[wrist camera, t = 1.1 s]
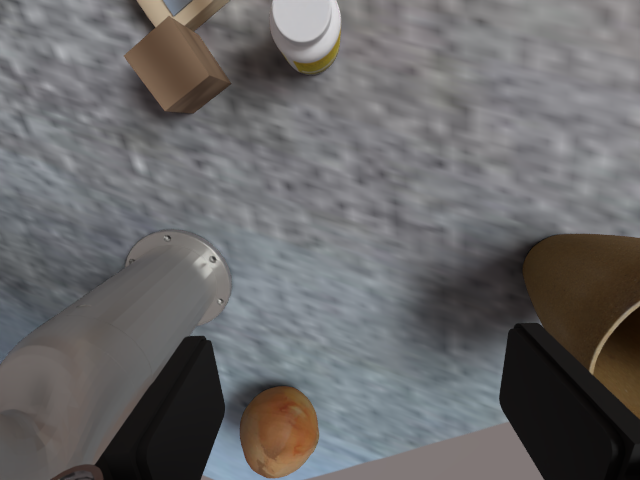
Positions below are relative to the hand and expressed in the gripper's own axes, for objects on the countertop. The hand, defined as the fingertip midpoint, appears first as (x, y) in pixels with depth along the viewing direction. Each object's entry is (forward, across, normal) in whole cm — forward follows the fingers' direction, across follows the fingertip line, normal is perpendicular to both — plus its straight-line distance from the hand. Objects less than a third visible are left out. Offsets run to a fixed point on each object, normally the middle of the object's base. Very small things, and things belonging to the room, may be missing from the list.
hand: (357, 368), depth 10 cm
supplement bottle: (+27, +2, -15) cm, 31 cm away
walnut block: (+27, +13, -13) cm, 33 cm away
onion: (+27, +9, +28) cm, 40 cm away
